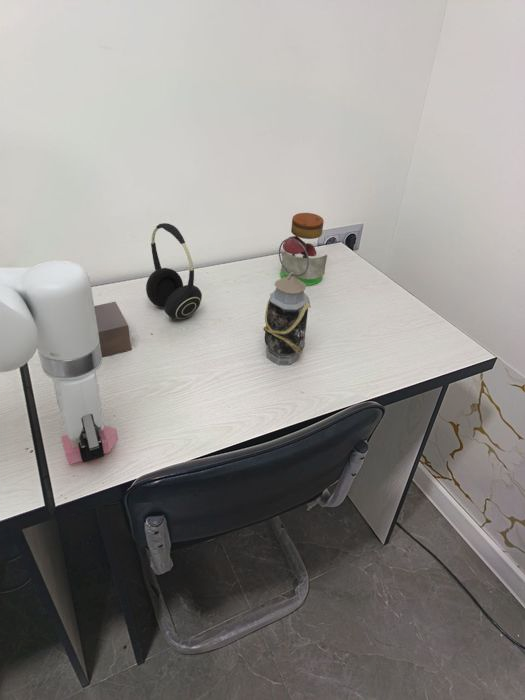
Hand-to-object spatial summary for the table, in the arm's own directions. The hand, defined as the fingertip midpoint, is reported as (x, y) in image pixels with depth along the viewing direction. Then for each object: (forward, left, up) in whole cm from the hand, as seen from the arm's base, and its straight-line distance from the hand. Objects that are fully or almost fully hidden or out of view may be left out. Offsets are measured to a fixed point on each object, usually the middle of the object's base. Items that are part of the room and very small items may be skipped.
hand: (89, 447), depth 75 cm
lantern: (+40, +9, -2) cm, 41 cm away
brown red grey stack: (+60, +35, -2) cm, 69 cm away
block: (+9, +27, -2) cm, 28 cm away
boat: (0, 0, 0) cm, 0 cm away
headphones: (+26, +32, -2) cm, 41 cm away
